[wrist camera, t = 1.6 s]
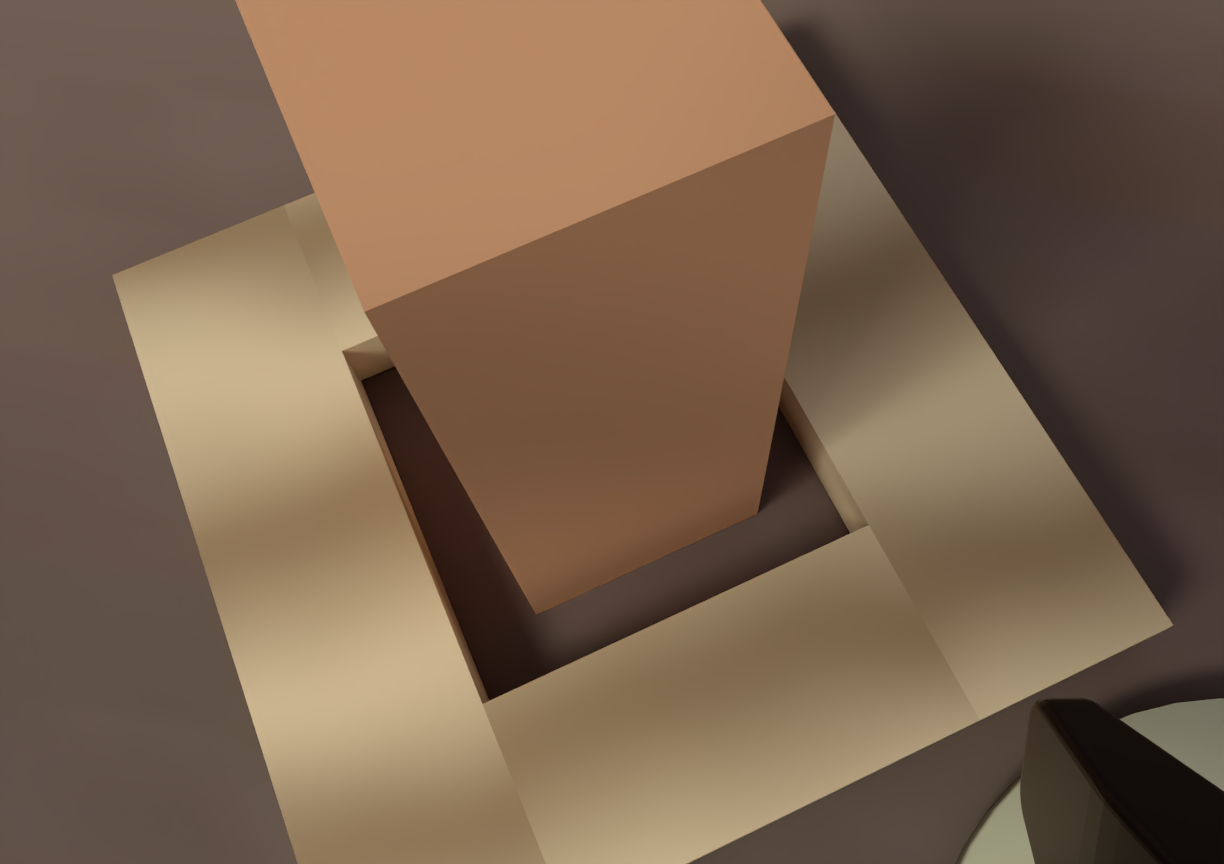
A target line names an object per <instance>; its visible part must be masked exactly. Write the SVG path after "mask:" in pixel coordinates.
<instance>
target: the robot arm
mask: <svg viewBox="0 0 1224 864" xmlns="http://www.w3.org/2000/svg"><path fill="white" fill-rule="evenodd" d="M1020 800H1021V808H1022V814H1023V818H1024V822H1025V826H1026V830H1027V834H1028V838H1029V842H1030V846H1031V850H1032V854H1033V858H1034V862H1035V864H1224V791H1223V790H1221V789H1220V788H1219V787H1217V786H1216V785H1214V784H1213V783H1211V782H1210V781H1208V780H1207V779H1205V778H1204V777H1203V776H1201V775H1200V774H1198V773H1197V772H1195V771H1194V770H1192V769H1191V768H1190V767H1188V766H1187V765H1185V764H1184V763H1182V762H1181V761H1179V760H1178V759H1177V758H1175V757H1174V756H1172V755H1171V754H1169V753H1168V752H1166V751H1165V750H1163V749H1162V748H1161V747H1159V746H1158V745H1156V744H1155V743H1153V742H1152V741H1150V740H1149V739H1148V738H1146V737H1145V736H1143V735H1142V734H1140V733H1139V732H1137V731H1136V730H1134V729H1133V728H1132V727H1130V726H1129V725H1127V724H1126V723H1124V722H1123V721H1121V720H1120V719H1119V718H1117V717H1116V716H1114V715H1113V714H1111V713H1110V712H1108V711H1107V710H1106V709H1104V708H1103V707H1101V706H1100V705H1098V704H1097V703H1095V702H1093V701H1091V700H1088V699H1084V698H1043V699H1039V700H1038V701H1037V702H1035V703H1034V705H1033V707H1032V709H1031V711H1030V715H1029V721H1028V729H1027V736H1026V743H1025V751H1024V758H1023V765H1022V773H1021V780H1020Z"/></svg>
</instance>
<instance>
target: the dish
mask: <svg viewBox="0 0 1224 864" xmlns="http://www.w3.org/2000/svg"><path fill="white" fill-rule="evenodd" d="M1120 720H1121V721H1123V722H1124V723H1126V724H1127V725H1129V726H1130V727H1132V728H1133V729H1134V730H1136V731H1137V732H1139V733H1140V734H1142V735H1143V736H1145V737H1146V738H1148V739H1149V740H1150V741H1152V742H1153V743H1155V744H1156V745H1158V746H1159V747H1161V748H1162V749H1163V750H1165V751H1166V752H1168V753H1169V754H1171V755H1172V756H1174V757H1175V758H1177V759H1178V760H1179V761H1181V762H1182V763H1184V764H1185V765H1187V766H1188V767H1190V768H1191V769H1192V770H1194V771H1195V772H1197V773H1198V774H1200V775H1201V776H1203V777H1204V778H1205V779H1207V780H1208V781H1210V782H1211V783H1213V784H1214V785H1216V786H1217V787H1219V788H1220V789H1221V790H1223V791H1224V698H1218V699H1209V700H1199V701H1190V702H1181V703H1174V704H1170V705H1166V706H1162V707H1158V708H1154V709H1150V710H1146V711H1142V712H1138V713H1134V714H1131V715H1129V716H1126V717H1123V718H1121V719H1120ZM1020 780H1021V776H1020V777H1019V778H1018V779H1017V780H1015V782H1014V783H1013V784H1012V785H1011V786H1010V787H1009V788H1008V789H1007V790H1006V791H1005V793H1004V794H1003V795H1002V796H1001V797H1000V798H999V799H998V800H997V801H996V802H995V804H994V805H993V806H992V807H991V808H990V809H989V810H988V811H987V813H986V814H985V816H984V817H983V819H982V820H981V822H980V823H979V825H978V826H977V828H976V829H975V831H974V832H973V834H972V835H971V837H970V838H969V840H968V841H967V843H966V844H965V846H964V848H963V850H962V852H961V854H960V856H959V858H958V860H957V862H956V864H1035V862H1034V858H1033V854H1032V850H1031V846H1030V842H1029V838H1028V834H1027V830H1026V826H1025V822H1024V818H1023V814H1022V808H1021V800H1020Z"/></svg>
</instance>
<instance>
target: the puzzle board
mask: <svg viewBox="0 0 1224 864" xmlns="http://www.w3.org/2000/svg"><path fill="white" fill-rule="evenodd" d="M766 10H767V9H766ZM767 11H768V10H767ZM768 13H769V12H768ZM769 14H770V13H769ZM770 16H771V15H770ZM771 17H772V16H771ZM772 19H773V18H772ZM773 20H774V19H773ZM774 22H775V21H774ZM775 23H776V22H775ZM776 25H777V24H776ZM777 26H778V25H777ZM778 28H779V27H778ZM779 29H780V28H779ZM780 31H781V30H780ZM781 32H782V31H781ZM782 34H783V33H782ZM783 36H784V34H783ZM784 37H785V36H784ZM785 39H786V38H785ZM786 40H787V39H786ZM787 42H788V41H787ZM788 43H789V42H788ZM789 45H790V44H789ZM790 46H791V45H790ZM791 48H792V47H791ZM792 49H793V48H792ZM793 51H794V50H793ZM794 52H795V51H794ZM795 54H796V53H795ZM796 55H797V54H796ZM797 57H798V56H797ZM798 58H799V57H798ZM799 60H800V59H799ZM800 61H801V60H800ZM801 63H802V62H801ZM802 64H803V63H802ZM803 66H804V65H803ZM804 67H805V66H804ZM805 69H806V68H805ZM806 70H807V69H806ZM807 72H808V71H807ZM808 73H809V72H808ZM809 75H810V74H809ZM810 76H811V75H810ZM811 78H812V77H811ZM812 79H813V78H812ZM813 81H814V80H813ZM814 83H815V81H814ZM815 84H816V83H815ZM816 86H817V85H816ZM817 87H818V86H817ZM818 89H819V88H818ZM819 90H820V89H819ZM820 92H821V91H820ZM821 93H822V92H821ZM822 95H823V94H822ZM823 96H824V95H823ZM824 98H825V97H824ZM825 99H826V98H825ZM826 101H827V100H826ZM827 102H828V101H827ZM828 104H829V103H828ZM829 105H830V104H829ZM830 107H831V106H830ZM831 108H832V107H831ZM832 110H833V109H832ZM833 111H834V110H833ZM834 113H835V112H834ZM112 276H113V279H114V282H115V285H116V289H117V292H118V295H119V298H120V301H121V304H122V308H123V311H124V314H125V317H126V320H127V323H128V327H129V330H130V333H131V336H132V339H133V343H134V346H135V349H136V352H137V355H138V358H139V362H140V365H141V368H142V371H143V374H144V377H145V381H146V384H147V387H148V390H149V393H150V396H151V400H152V403H153V406H154V409H155V412H156V415H157V419H158V422H159V425H160V428H161V431H162V434H163V438H164V441H165V444H166V447H167V450H168V454H169V457H170V460H171V463H172V466H173V469H174V473H175V476H176V479H177V482H178V485H179V488H180V492H181V495H182V498H183V501H184V504H185V507H186V511H187V514H188V517H189V520H190V523H191V526H192V530H193V533H194V536H195V539H196V542H197V545H198V549H199V552H200V555H201V558H202V561H203V565H204V568H205V571H206V574H207V577H208V580H209V584H210V587H211V590H212V593H213V596H214V599H215V603H216V606H217V609H218V612H219V615H220V618H221V622H222V625H223V628H224V631H225V634H226V637H227V641H228V644H229V647H230V650H231V653H232V656H233V660H234V663H235V666H236V669H237V672H238V676H239V679H240V682H241V685H242V688H243V691H244V695H245V698H246V701H247V704H248V707H249V710H250V714H251V717H252V720H253V723H254V726H255V729H256V733H257V736H258V739H259V742H260V745H261V748H262V752H263V755H264V758H265V761H266V764H267V767H268V771H269V774H270V777H271V780H272V783H273V787H274V790H275V793H276V796H277V799H278V802H279V806H280V809H281V812H282V815H283V818H284V821H285V825H286V828H287V831H288V834H289V837H290V840H291V844H292V847H293V850H294V853H295V856H296V859H297V863H298V864H689V863H691V862H693V861H695V860H697V859H699V858H701V857H703V856H705V855H707V854H709V853H711V852H713V851H715V850H717V849H719V848H721V847H723V846H726V845H728V844H730V843H732V842H734V841H736V840H738V839H740V838H742V837H744V836H746V835H748V834H750V833H752V832H754V831H756V830H758V829H760V828H762V827H764V826H766V825H768V824H770V823H773V822H775V821H777V820H779V819H781V818H783V817H785V816H787V815H789V814H791V813H793V812H795V811H797V810H799V809H801V808H803V807H805V806H807V805H809V804H811V803H813V802H815V801H817V800H820V799H822V798H824V797H826V796H828V795H830V794H832V793H834V792H836V791H838V790H840V789H842V788H844V787H846V786H848V785H850V784H852V783H854V782H856V781H858V780H860V779H862V778H865V777H867V776H869V775H871V774H873V773H875V772H877V771H879V770H881V769H883V768H885V767H887V766H889V765H891V764H893V763H895V762H897V761H899V760H901V759H903V758H905V757H907V756H909V755H912V754H914V753H916V752H918V751H920V750H922V749H924V748H926V747H928V746H930V745H932V744H934V743H936V742H938V741H940V740H942V739H944V738H946V737H948V736H950V735H952V734H954V733H956V732H959V731H961V730H963V729H965V728H967V727H969V726H971V725H973V724H975V723H977V722H979V721H981V720H983V719H985V718H987V717H989V716H991V715H993V714H995V713H997V712H999V711H1001V710H1003V709H1006V708H1008V707H1010V706H1012V705H1014V704H1016V703H1018V702H1020V701H1022V700H1024V699H1026V698H1028V697H1030V696H1032V695H1034V694H1036V693H1038V692H1040V691H1042V690H1044V689H1046V688H1048V687H1050V686H1053V685H1055V684H1057V683H1059V682H1061V681H1063V680H1065V679H1067V678H1069V677H1071V676H1073V675H1075V674H1077V673H1079V672H1081V671H1083V670H1085V669H1087V668H1089V667H1091V666H1093V665H1095V664H1097V663H1100V662H1102V661H1104V660H1106V659H1108V658H1110V657H1112V656H1114V655H1116V654H1118V653H1120V652H1122V651H1124V650H1126V649H1128V648H1130V647H1132V646H1134V645H1136V644H1138V643H1140V642H1142V641H1144V640H1146V639H1148V638H1150V637H1152V636H1154V635H1156V634H1158V633H1160V632H1162V631H1164V630H1165V629H1167V628H1169V627H1171V626H1173V624H1172V623H1171V621H1170V620H1169V618H1168V617H1167V615H1166V614H1165V612H1164V610H1163V609H1162V607H1161V606H1160V604H1159V603H1158V601H1157V600H1156V598H1155V597H1154V595H1153V594H1152V592H1151V591H1150V589H1149V588H1148V586H1147V585H1146V583H1145V582H1144V580H1143V579H1142V577H1141V576H1140V574H1139V573H1138V571H1137V570H1136V568H1135V567H1134V565H1133V563H1132V562H1131V560H1130V559H1129V557H1128V556H1127V554H1126V553H1125V551H1124V550H1123V548H1122V547H1121V545H1120V544H1119V542H1118V541H1117V539H1116V538H1115V536H1114V535H1113V533H1112V532H1111V530H1110V529H1109V527H1108V526H1107V524H1106V523H1105V521H1104V520H1103V518H1102V516H1101V515H1100V513H1099V512H1098V510H1097V509H1096V507H1095V506H1094V504H1093V503H1092V501H1091V500H1090V498H1089V497H1088V495H1087V494H1086V492H1085V491H1084V489H1083V488H1082V486H1081V485H1080V483H1079V482H1078V480H1077V479H1076V477H1075V476H1074V474H1073V473H1072V471H1071V470H1070V468H1069V466H1068V465H1067V463H1066V462H1065V460H1064V459H1063V457H1062V456H1061V454H1060V453H1059V451H1058V450H1057V448H1056V447H1055V445H1054V444H1053V442H1052V441H1051V439H1050V438H1049V436H1048V435H1047V433H1046V432H1045V430H1044V429H1043V427H1042V426H1041V424H1040V423H1039V421H1038V419H1037V418H1036V416H1035V415H1034V413H1033V412H1032V410H1031V409H1030V407H1029V406H1028V404H1027V403H1026V401H1025V400H1024V398H1023V397H1022V395H1021V394H1020V392H1019V391H1018V389H1017V388H1016V386H1015V385H1014V383H1013V382H1012V380H1011V379H1010V377H1009V376H1008V374H1007V373H1006V371H1005V369H1004V368H1003V366H1002V365H1001V363H1000V362H999V360H998V359H997V357H996V356H995V354H994V353H993V351H992V350H991V348H990V347H989V345H988V344H987V342H986V341H985V339H984V338H983V336H982V335H981V333H980V332H979V330H978V329H977V327H976V326H975V324H974V322H973V321H972V319H971V318H970V316H969V315H968V313H967V312H966V310H965V309H964V307H963V306H962V304H961V303H960V301H959V300H958V298H957V297H956V295H955V294H954V292H953V291H952V289H951V288H950V286H949V285H948V283H947V282H946V280H945V279H944V277H943V275H942V274H941V272H940V271H939V269H938V268H937V266H936V265H935V263H934V262H933V260H932V259H931V257H930V256H929V254H928V253H927V251H926V250H925V248H924V247H923V245H922V244H921V242H920V241H919V239H918V238H917V236H916V235H915V233H914V232H913V230H912V229H911V227H910V225H909V224H908V222H907V221H906V219H905V218H904V216H903V215H902V213H901V212H900V210H899V209H898V207H897V206H896V204H895V203H894V201H893V200H892V198H891V197H890V195H889V194H888V192H887V191H886V189H885V188H884V186H883V185H882V183H881V182H880V180H879V178H878V177H877V175H876V174H875V172H874V171H873V169H872V168H871V166H870V165H869V163H868V162H867V160H866V159H865V157H864V156H863V154H862V153H861V151H860V150H859V148H858V147H857V145H856V144H855V142H854V141H853V139H852V138H851V136H850V135H849V133H848V131H847V130H846V128H845V127H844V125H843V124H842V122H841V121H840V119H839V118H838V116H837V115H836V113H835V118H834V123H833V128H832V134H831V139H830V144H829V149H828V154H827V159H826V164H825V169H824V175H823V180H822V185H821V190H820V195H819V200H818V205H817V211H816V216H815V221H814V226H813V231H812V236H811V241H810V247H809V252H808V257H807V262H806V267H805V272H804V277H803V283H802V288H801V293H800V298H799V303H798V308H797V313H796V319H795V324H794V329H793V334H792V339H791V344H790V349H789V355H788V360H787V365H786V370H785V375H784V380H783V385H782V391H781V396H780V401H779V407H780V409H781V411H782V413H783V415H784V416H785V418H786V420H787V422H788V424H789V425H790V427H791V429H792V431H793V432H794V434H795V436H796V438H797V440H798V441H799V443H800V445H801V447H802V448H803V450H804V452H805V454H806V456H807V457H808V459H809V461H810V463H811V464H812V466H813V468H814V470H815V472H816V473H817V475H818V477H819V479H820V481H821V482H822V484H823V486H824V488H825V489H826V491H827V493H828V495H829V497H830V498H831V500H832V502H833V504H834V505H835V507H836V509H837V511H838V513H839V514H840V516H841V518H842V520H843V521H844V523H845V525H846V527H847V529H848V530H849V532H850V534H848V535H846V536H844V537H842V538H839V539H837V540H835V541H833V542H831V543H829V544H827V545H824V546H822V547H820V548H818V549H816V550H814V551H811V552H809V553H807V554H805V555H803V556H801V557H798V558H796V559H794V560H792V561H790V562H788V563H786V564H783V565H781V566H779V567H777V568H775V569H773V570H770V571H768V572H766V573H764V574H762V575H760V576H758V577H755V578H753V579H751V580H749V581H747V582H745V583H742V584H740V585H738V586H736V587H734V588H732V589H729V590H727V591H725V592H723V593H721V594H719V595H717V596H714V597H712V598H710V599H708V600H706V601H704V602H701V603H699V604H697V605H695V606H693V607H691V608H689V609H686V610H684V611H682V612H680V613H678V614H676V615H673V616H671V617H669V618H667V619H665V620H663V621H660V622H658V623H656V624H654V625H652V626H650V627H648V628H645V629H643V630H641V631H639V632H637V633H635V634H632V635H630V636H628V637H626V638H624V639H622V640H619V641H617V642H615V643H613V644H611V645H609V646H607V647H604V648H602V649H600V650H598V651H596V652H594V653H591V654H589V655H587V656H585V657H583V658H581V659H579V660H576V661H574V662H572V663H570V664H568V665H566V666H563V667H561V668H559V669H557V670H555V671H553V672H550V673H548V674H546V675H544V676H542V677H540V678H538V679H535V680H533V681H531V682H529V683H527V684H525V685H522V686H520V687H518V688H516V689H514V690H512V691H510V692H507V693H505V694H503V695H501V696H499V697H497V698H494V699H492V700H490V701H489V698H488V696H487V693H486V691H485V688H484V686H483V683H482V681H481V678H480V676H479V673H478V671H477V668H476V666H475V663H474V661H473V658H472V656H471V653H470V651H469V648H468V646H467V643H466V641H465V638H464V636H463V633H462V631H461V628H460V626H459V623H458V621H457V618H456V616H455V613H454V611H453V608H452V606H451V603H450V601H449V598H448V596H447V593H446V591H445V588H444V586H443V583H442V581H441V578H440V576H439V573H438V571H437V569H436V566H435V564H434V561H433V559H432V556H431V554H430V551H429V549H428V546H427V544H426V541H425V539H424V536H423V534H422V531H421V529H420V526H419V524H418V521H417V519H416V516H415V514H414V511H413V509H412V506H411V504H410V501H409V499H408V496H407V494H406V491H405V489H404V486H403V484H402V481H401V479H400V476H399V474H398V471H397V469H396V466H395V464H394V461H393V459H392V456H391V454H390V451H389V449H388V446H387V444H386V441H385V439H384V436H383V434H382V431H381V429H380V426H379V424H378V421H377V419H376V416H375V414H374V411H373V409H372V406H371V404H370V401H369V399H368V396H367V394H366V391H365V389H364V386H363V384H362V382H361V380H364V379H366V378H368V377H371V376H373V375H376V374H378V373H380V372H383V371H385V370H387V369H390V368H392V367H394V366H395V365H394V364H393V362H392V360H391V358H390V356H389V355H388V353H387V351H386V349H385V348H384V346H383V344H382V342H381V341H380V339H379V337H378V335H377V334H376V332H375V330H374V328H373V326H372V325H371V323H370V321H369V319H368V318H367V316H366V314H365V312H364V310H363V308H362V305H361V303H360V300H359V298H358V296H357V293H356V291H355V288H354V286H353V284H352V281H351V279H350V276H349V274H348V271H347V269H346V267H345V264H344V262H343V259H342V257H341V255H340V252H339V250H338V247H337V245H336V242H335V240H334V238H333V235H332V233H331V230H330V228H329V225H328V223H327V221H326V218H325V216H324V213H323V211H322V209H321V206H320V204H319V201H318V199H317V196H316V194H315V193H313V194H311V195H308V196H306V197H303V198H301V199H298V200H296V201H294V202H291V203H289V204H286V205H284V206H281V207H279V208H276V209H274V210H271V211H269V212H266V213H264V214H262V215H259V216H257V217H254V218H252V219H249V220H247V221H244V222H242V223H239V224H237V225H235V226H232V227H230V228H227V229H225V230H222V231H220V232H217V233H215V234H212V235H210V236H207V237H205V238H203V239H200V240H198V241H195V242H193V243H190V244H188V245H185V246H183V247H180V248H178V249H176V250H173V251H171V252H168V253H166V254H163V255H161V256H158V257H156V258H153V259H151V260H148V261H146V262H144V263H141V264H139V265H136V266H134V267H131V268H129V269H126V270H124V271H121V272H119V273H117V274H114V275H112Z"/></svg>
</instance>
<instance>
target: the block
mask: <svg viewBox="0 0 1224 864" xmlns="http://www.w3.org/2000/svg"><path fill="white" fill-rule="evenodd" d="M235 1H236V3H237V5H238V8H239V10H240V13H241V15H242V18H243V20H244V22H245V25H246V27H247V30H248V32H249V34H250V37H251V39H252V42H253V44H254V47H255V49H256V51H257V54H258V56H259V59H260V61H261V63H262V66H263V68H264V71H265V73H266V76H267V78H268V80H269V83H270V85H271V88H272V90H273V92H274V95H275V97H276V100H277V102H278V105H279V107H280V109H281V112H282V114H283V117H284V119H285V121H286V124H287V126H288V129H289V131H290V134H291V136H292V138H293V141H294V143H295V146H296V148H297V151H298V153H299V155H300V158H301V160H302V163H303V165H304V167H305V170H306V172H307V175H308V177H309V180H310V182H311V184H312V187H313V189H314V192H315V194H316V196H317V199H318V201H319V204H320V206H321V209H322V211H323V213H324V216H325V218H326V221H327V223H328V225H329V228H330V230H331V233H332V235H333V238H334V240H335V242H336V245H337V247H338V250H339V252H340V255H341V257H342V259H343V262H344V264H345V267H346V269H347V271H348V274H349V276H350V279H351V281H352V284H353V286H354V288H355V291H356V293H357V296H358V298H359V300H360V303H361V305H362V308H363V310H364V312H365V314H366V316H367V318H368V319H369V321H370V323H371V325H372V326H373V328H374V330H375V332H376V334H377V335H378V337H379V339H380V341H381V342H382V344H383V346H384V348H385V349H386V351H387V353H388V355H389V356H390V358H391V360H392V362H393V364H394V365H395V367H396V369H397V371H398V372H399V374H400V376H401V378H402V379H403V381H404V383H405V385H406V386H407V388H408V390H409V392H410V393H411V395H412V397H413V399H414V401H415V402H416V404H417V406H418V408H419V409H420V411H421V413H422V415H423V416H424V418H425V420H426V422H427V423H428V425H429V427H430V429H431V430H432V432H433V434H434V436H435V438H436V439H437V441H438V443H439V445H440V446H441V448H442V450H443V452H444V453H445V455H446V457H447V459H448V460H449V462H450V464H451V466H452V467H453V469H454V471H455V473H456V475H457V476H458V478H459V480H460V482H461V483H462V485H463V487H464V489H465V490H466V492H467V494H468V496H469V497H470V499H471V501H472V503H473V504H474V506H475V508H476V510H477V512H478V513H479V515H480V517H481V519H482V520H483V522H484V524H485V526H486V527H487V529H488V531H489V533H490V534H491V536H492V538H493V540H494V541H495V543H496V545H497V547H498V549H499V550H500V552H501V554H502V556H503V557H504V559H505V561H506V563H507V564H508V566H509V568H510V570H511V571H512V573H513V575H514V577H515V578H516V580H517V582H518V584H519V586H520V587H521V589H522V591H523V593H524V594H525V596H526V598H527V600H528V601H529V603H530V605H531V607H532V608H533V610H534V612H535V614H536V615H537V614H539V613H541V612H544V611H546V610H548V609H550V608H552V607H555V606H557V605H559V604H561V603H563V602H565V601H568V600H570V599H572V598H574V597H576V596H579V595H581V594H583V593H585V592H587V591H590V590H592V589H594V588H596V587H598V586H600V585H603V584H605V583H607V582H609V581H611V580H614V579H616V578H618V577H620V576H622V575H624V574H627V573H629V572H631V571H633V570H635V569H638V568H640V567H642V566H644V565H646V564H649V563H651V562H653V561H655V560H657V559H659V558H662V557H664V556H666V555H668V554H670V553H673V552H675V551H677V550H679V549H681V548H684V547H686V546H688V545H690V544H692V543H694V542H697V541H699V540H701V539H703V538H705V537H708V536H710V535H712V534H714V533H716V532H719V531H721V530H723V529H725V528H727V527H729V526H732V525H734V524H736V523H738V522H740V521H743V520H745V519H747V518H749V517H751V516H754V515H756V514H758V509H759V504H760V498H761V493H762V488H763V483H764V478H765V473H766V468H767V463H768V457H769V452H770V447H771V442H772V437H773V432H774V427H775V421H776V416H777V411H778V406H779V401H780V396H781V391H782V385H783V380H784V375H785V370H786V365H787V360H788V355H789V349H790V344H791V339H792V334H793V329H794V324H795V319H796V313H797V308H798V303H799V298H800V293H801V288H802V283H803V277H804V272H805V267H806V262H807V257H808V252H809V247H810V241H811V236H812V231H813V226H814V221H815V216H816V211H817V205H818V200H819V195H820V190H821V185H822V180H823V175H824V169H825V164H826V159H827V154H828V149H829V144H830V139H831V134H832V128H833V123H834V118H835V113H834V111H833V110H832V108H831V107H830V105H829V104H828V102H827V101H826V99H825V98H824V96H823V95H822V93H821V92H820V90H819V89H818V87H817V86H816V84H815V83H814V81H813V79H812V78H811V76H810V75H809V73H808V72H807V70H806V69H805V67H804V66H803V64H802V63H801V61H800V60H799V58H798V57H797V55H796V54H795V52H794V51H793V49H792V48H791V46H790V45H789V43H788V42H787V40H786V39H785V37H784V36H783V34H782V32H781V31H780V29H779V28H778V26H777V25H776V23H775V22H774V20H773V19H772V17H771V16H770V14H769V13H768V11H767V10H766V8H765V7H764V5H763V4H762V2H761V1H760V0H235Z"/></svg>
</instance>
